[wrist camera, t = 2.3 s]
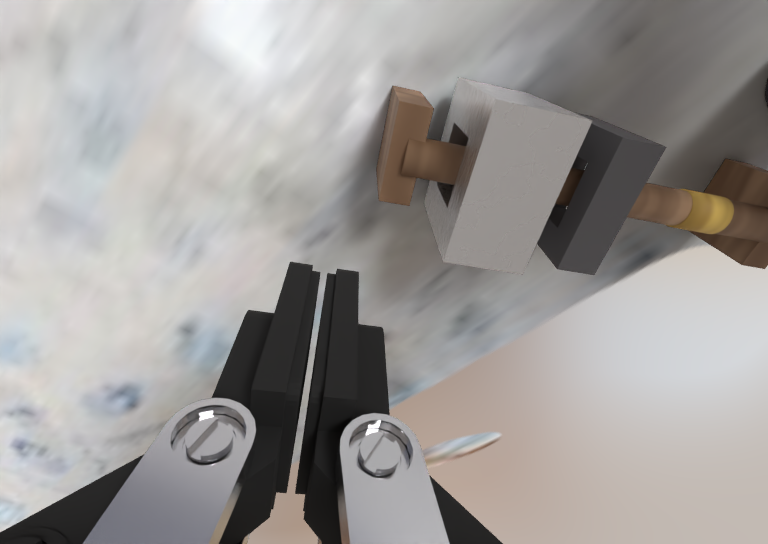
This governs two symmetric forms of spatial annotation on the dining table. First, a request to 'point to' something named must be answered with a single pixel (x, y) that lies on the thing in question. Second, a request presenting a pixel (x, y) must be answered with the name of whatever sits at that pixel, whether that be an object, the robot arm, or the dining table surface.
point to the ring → (599, 196)
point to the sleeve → (501, 175)
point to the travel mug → (766, 92)
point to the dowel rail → (655, 203)
